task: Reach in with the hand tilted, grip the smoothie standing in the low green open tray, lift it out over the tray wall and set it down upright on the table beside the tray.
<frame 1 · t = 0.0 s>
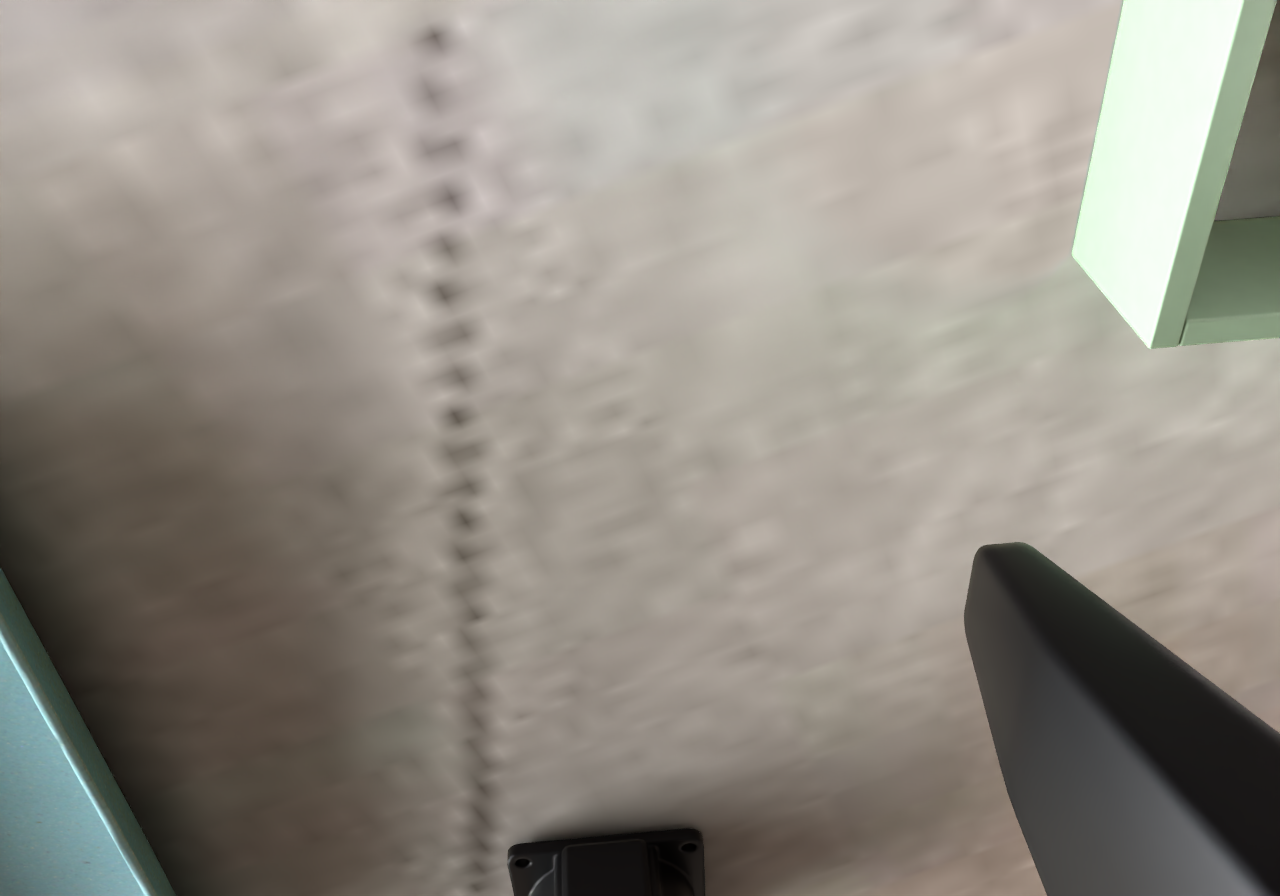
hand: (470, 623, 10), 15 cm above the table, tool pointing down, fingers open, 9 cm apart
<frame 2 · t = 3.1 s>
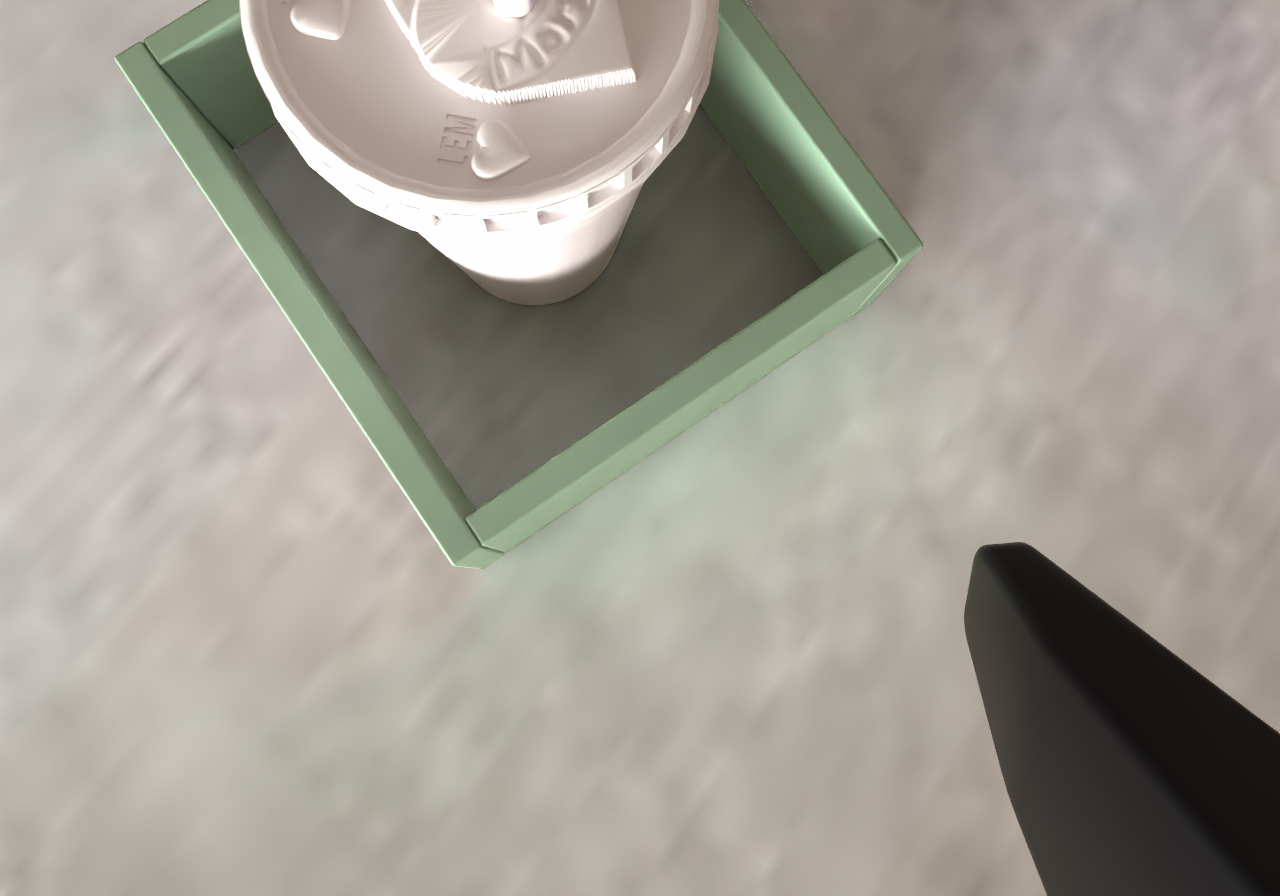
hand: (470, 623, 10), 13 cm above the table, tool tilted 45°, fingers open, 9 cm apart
smoothie: (534, 225, 24), resting in green open tray
green open tray: (534, 222, 24), on the table
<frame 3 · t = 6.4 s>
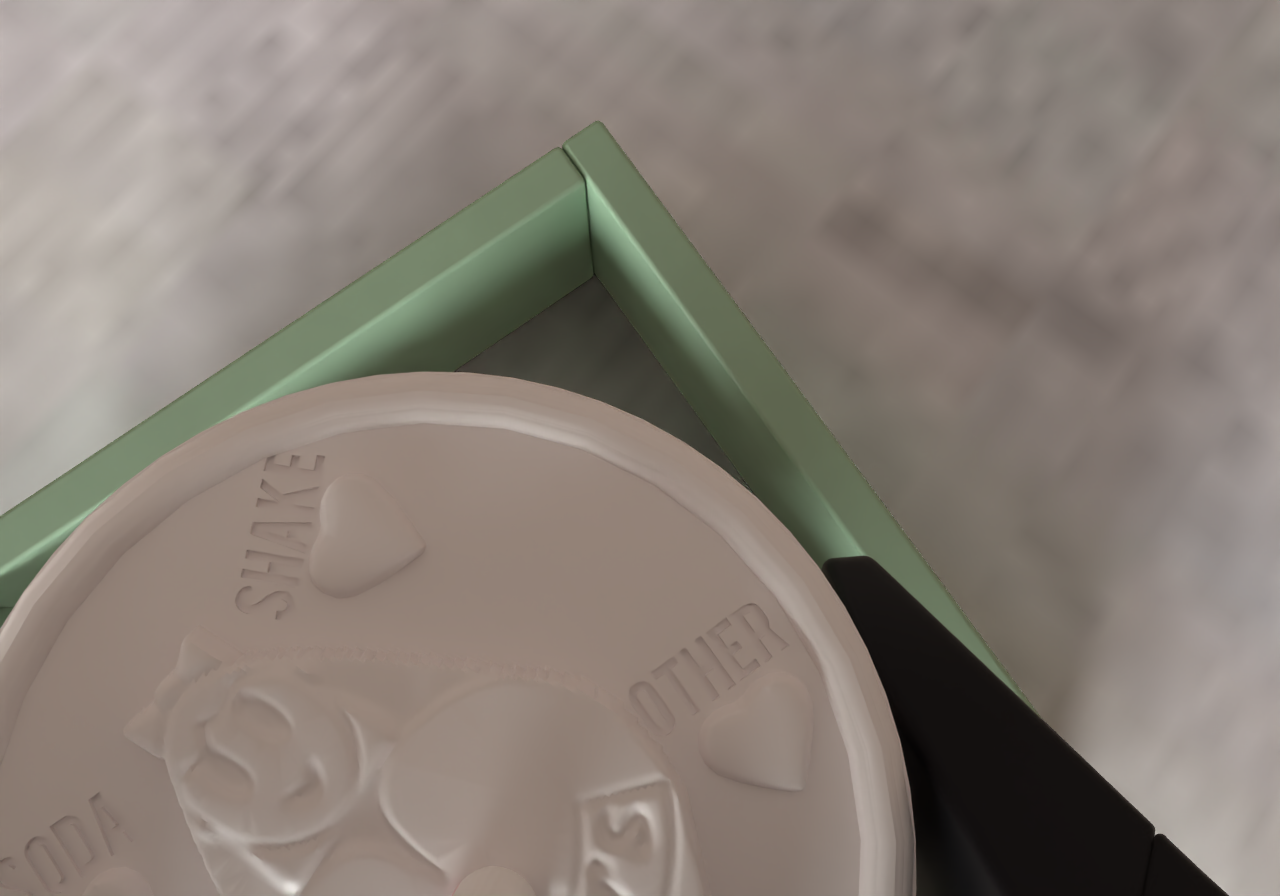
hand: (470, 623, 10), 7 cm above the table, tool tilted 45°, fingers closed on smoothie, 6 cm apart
smoothie: (542, 705, 17), resting in green open tray, touching gripper
green open tray: (541, 708, 16), on the table
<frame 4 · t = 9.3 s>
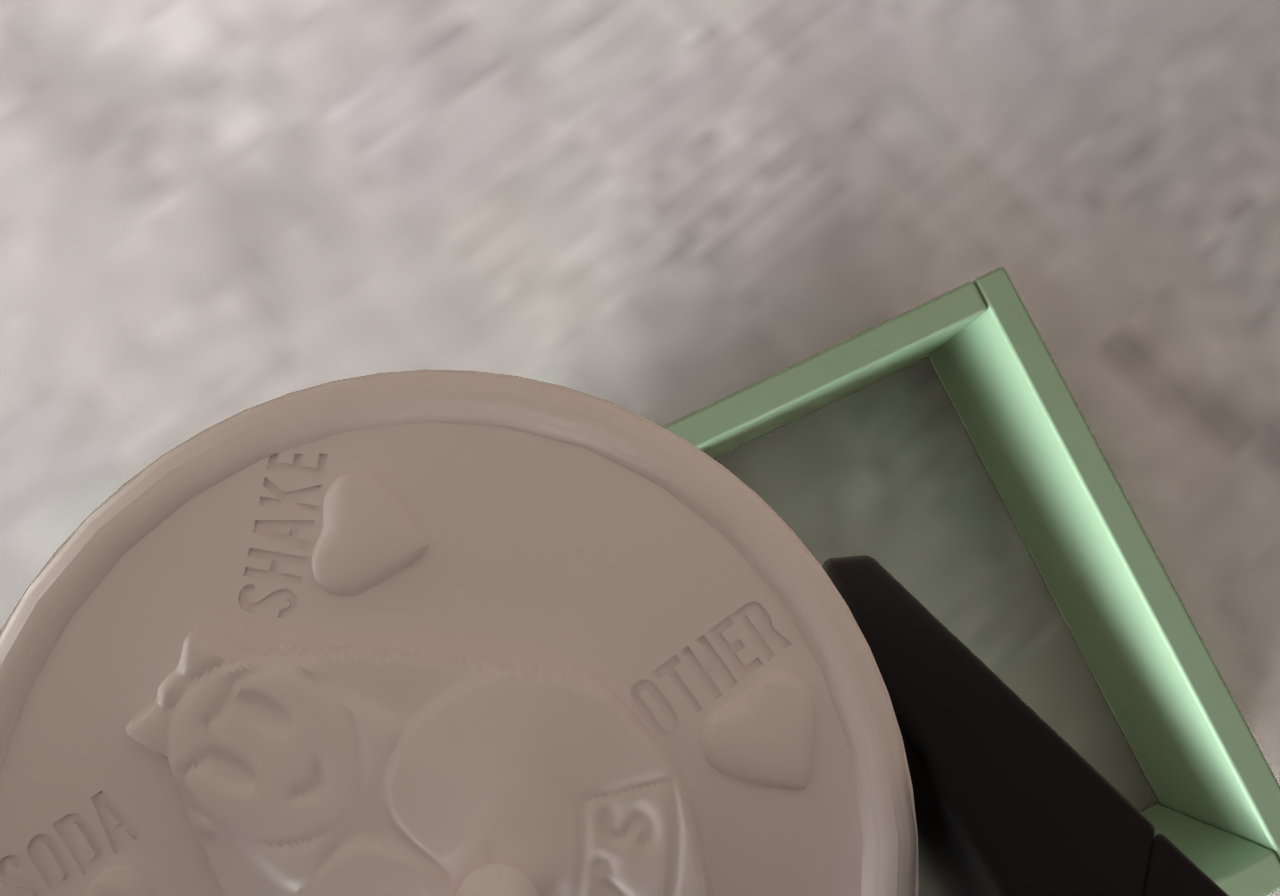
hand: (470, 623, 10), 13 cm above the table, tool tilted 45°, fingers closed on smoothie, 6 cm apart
smoothie: (543, 704, 17), point 5 cm above the table, touching gripper
green open tray: (843, 671, 22), on the table
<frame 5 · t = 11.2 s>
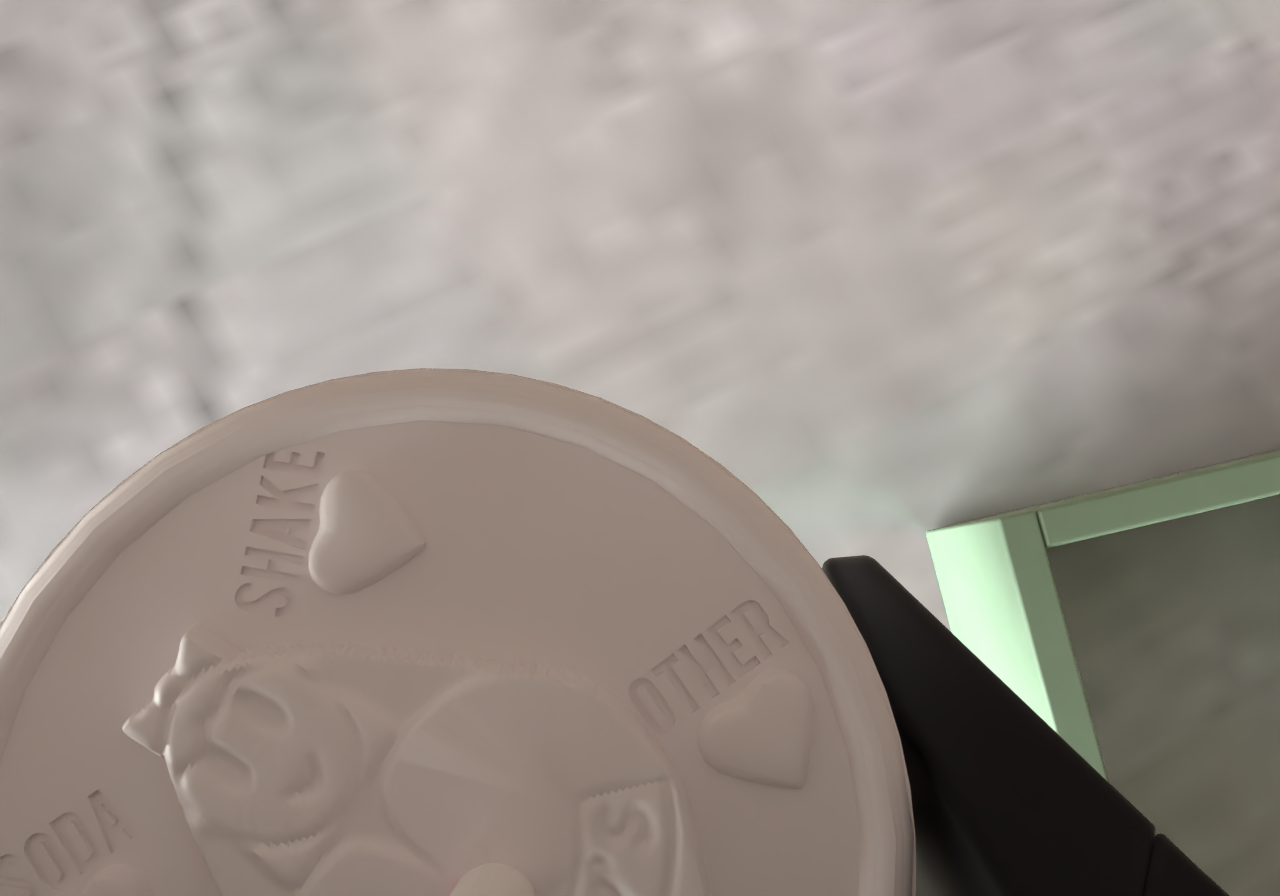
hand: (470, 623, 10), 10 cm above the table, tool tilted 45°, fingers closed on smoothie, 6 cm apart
smoothie: (541, 704, 17), point 3 cm above the table, touching gripper
green open tray: (1276, 772, 20), on the table
when the fingers open (7 cm above the table, at t = 12.7 s): smoothie stays where it is, on the table.
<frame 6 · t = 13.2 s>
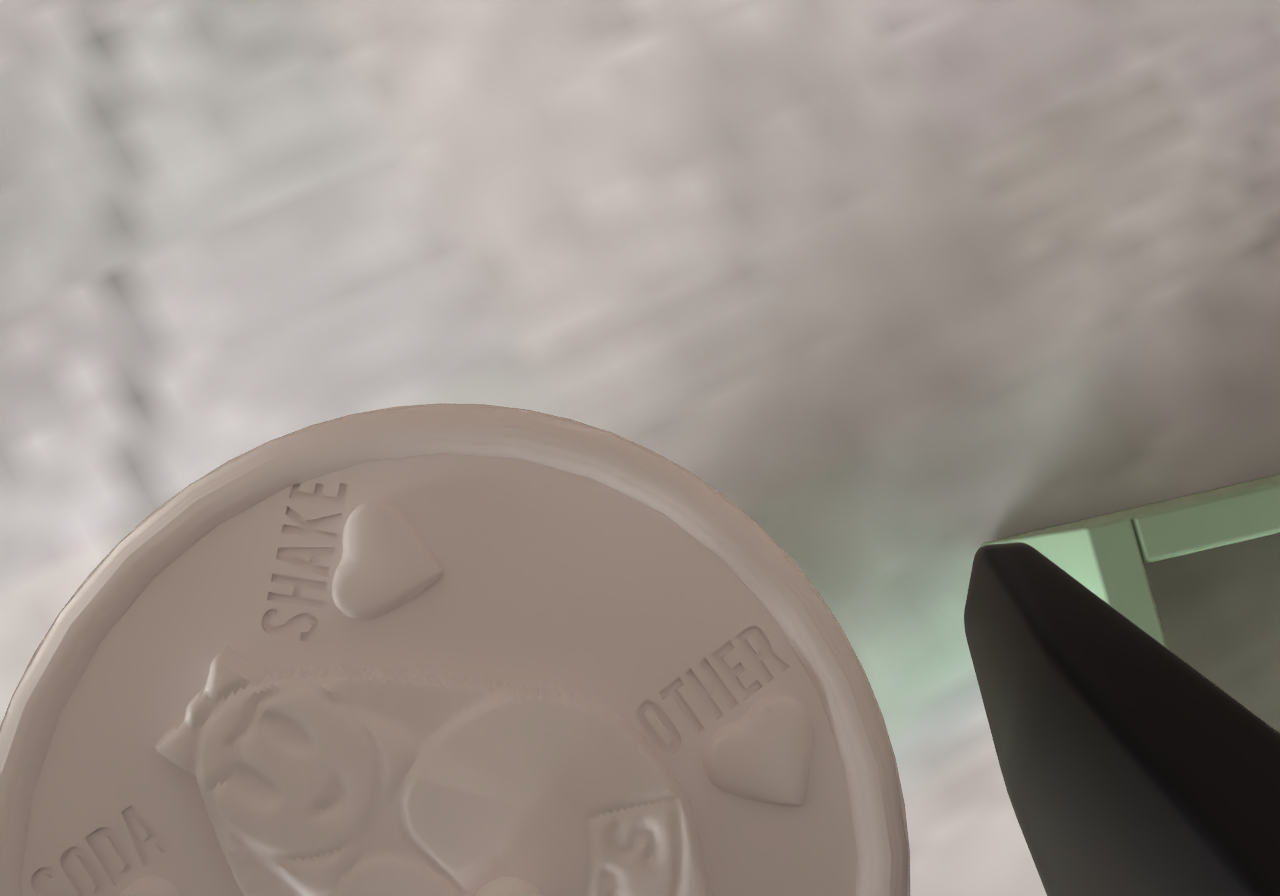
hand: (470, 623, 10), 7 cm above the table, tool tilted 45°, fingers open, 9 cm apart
smoothie: (545, 714, 17), on the table
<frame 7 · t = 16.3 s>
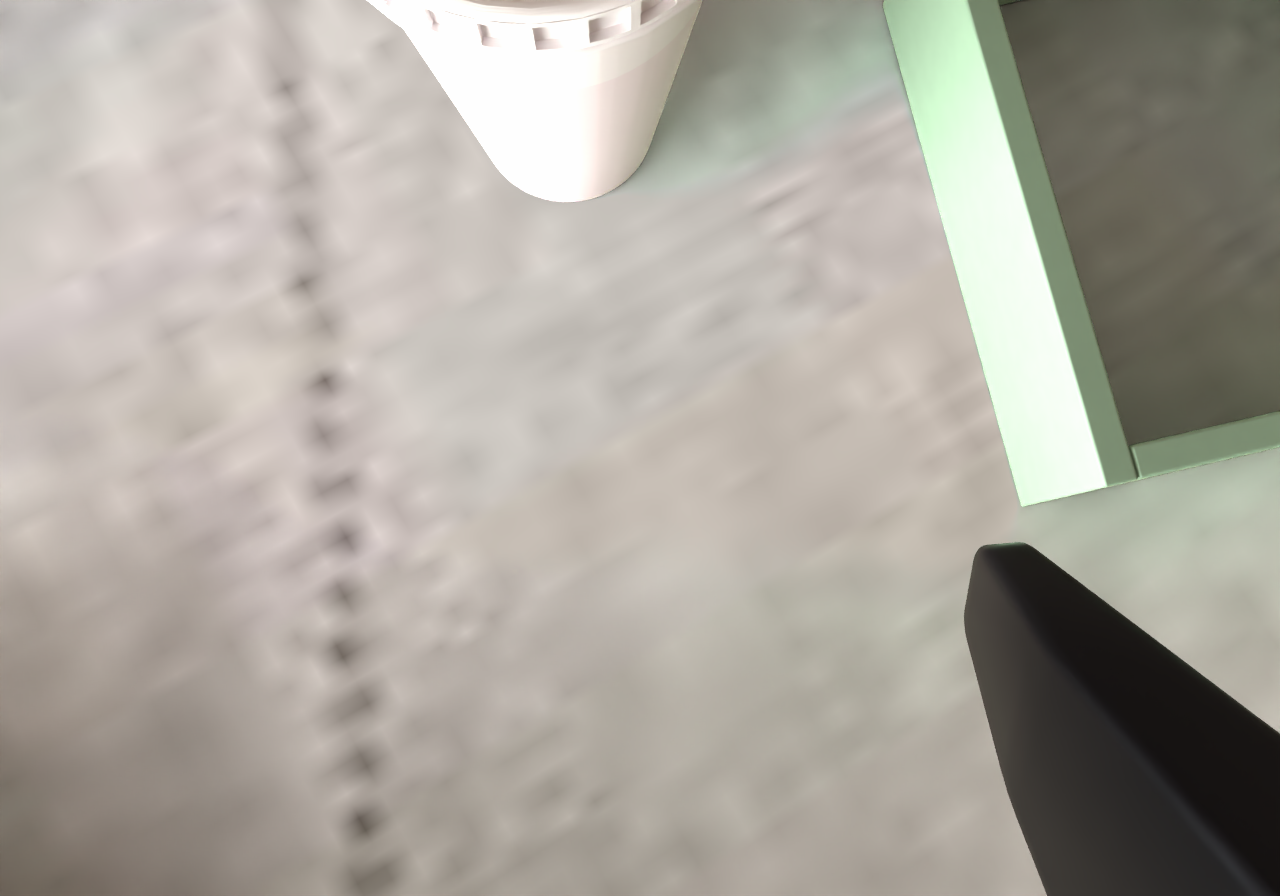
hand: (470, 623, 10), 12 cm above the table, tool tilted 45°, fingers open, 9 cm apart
smoothie: (567, 122, 24), on the table
green open tray: (1180, 196, 23), on the table
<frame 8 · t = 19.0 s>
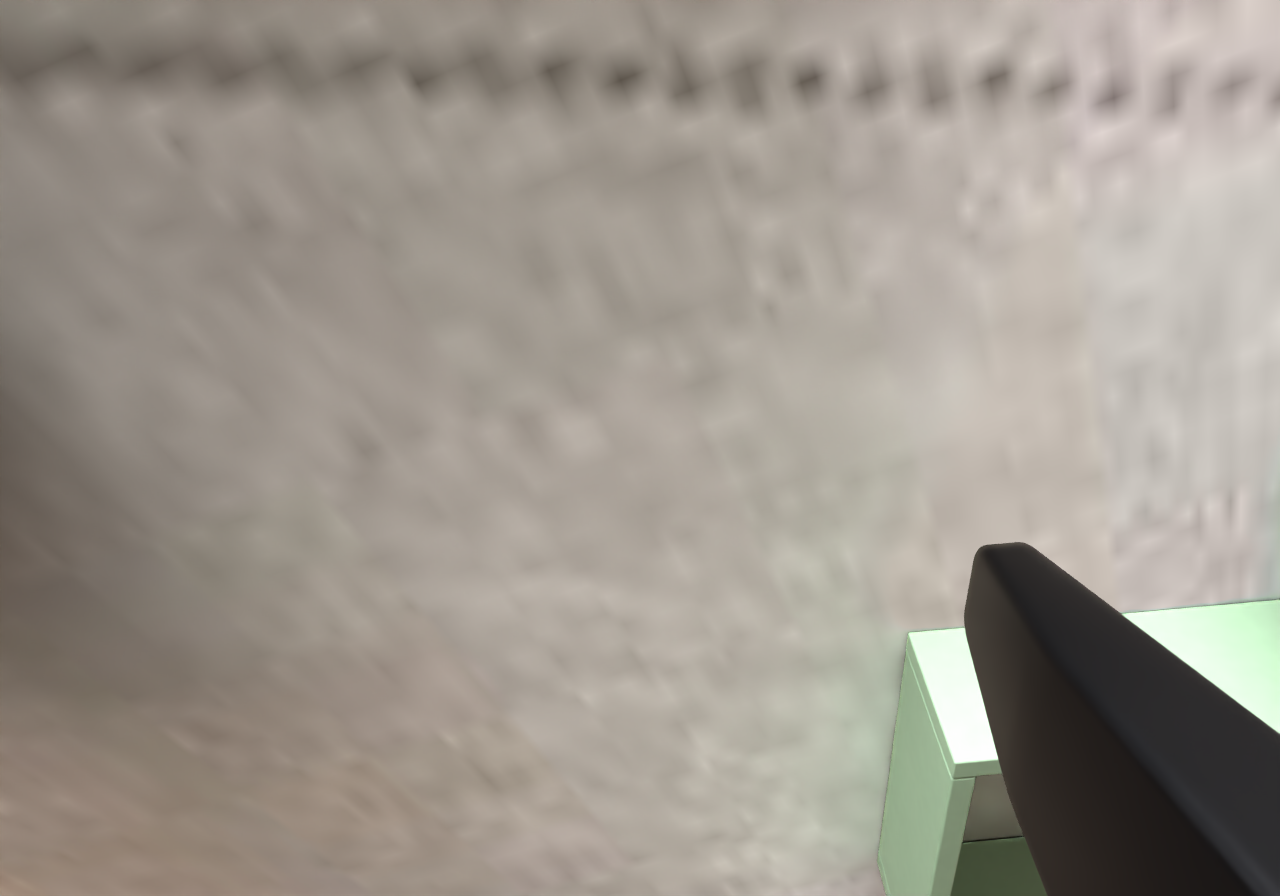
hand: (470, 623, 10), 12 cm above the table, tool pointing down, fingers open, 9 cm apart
green open tray: (1087, 739, 31), on the table
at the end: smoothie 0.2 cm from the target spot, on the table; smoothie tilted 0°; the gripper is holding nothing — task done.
